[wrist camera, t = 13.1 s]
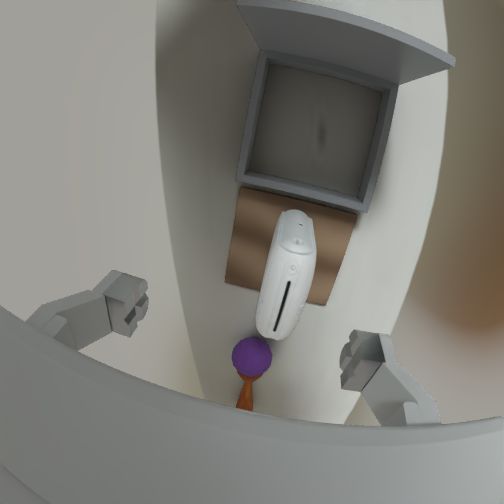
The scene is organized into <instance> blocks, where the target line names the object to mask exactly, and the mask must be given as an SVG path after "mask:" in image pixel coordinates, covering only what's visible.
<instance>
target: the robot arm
mask: <svg viewBox="0 0 504 504" xmlns="http://www.w3.org/2000/svg"><path fill="white" fill-rule="evenodd" d="M147 289H148V286H147V282H146V280H144V279H141V278H138V277H135V276H132V275H128V274H126V273H122V272H119V271H116V270H112V271H111V272H110V273H109V274H108V275H107V276H106V277H105V278H104V279H103V280H102V281H101V282H100V283H99V284H98V285H97V286H96V287H95V288H94V289H93V290H92V291H91V290H86V291H83V292H80V293H77V294H74V295H71V296H68V297H65V298H62V299H59V300H55V301H52V302H49V303H46V304H43V305H41V306H40V307H39V308H38V309H37V310H36V311H35V312H34V313H33V314H32V315H31V316H30V317H29V318H28V319H27V321H23V320H21V319H20V318H18V317H17V316H15V315H14V314H12V313H11V312H9V311H8V310H6V309H5V308H3V307H2V306H1V305H0V504H504V417H501V416H499V417H492V418H487V419H481V420H475V421H468V422H460V423H451V424H441V421H440V416H439V413H438V409H437V405H436V401H435V400H434V399H433V398H432V397H431V396H430V395H429V394H428V393H427V392H426V391H425V389H424V388H423V387H422V386H421V385H420V384H419V383H418V382H417V381H416V380H415V379H414V378H413V377H412V376H411V375H410V374H409V373H408V371H407V370H405V368H404V367H403V366H402V365H400V364H397V359H396V356H395V352H394V349H393V345H392V342H391V338H390V336H389V335H388V334H381V333H373V332H366V331H360V330H355V329H354V330H353V331H352V332H351V334H350V336H349V340H350V342H348V343H347V344H345V345H344V347H343V349H342V351H341V355H340V368H341V369H342V370H343V373H342V374H341V389H344V390H351V391H359V392H361V394H362V396H363V397H364V399H365V400H366V402H367V403H368V405H369V407H370V408H371V410H372V411H373V413H374V414H375V416H376V418H377V419H378V421H379V422H380V424H381V426H359V425H344V424H332V423H322V422H313V421H305V420H298V419H291V418H284V417H278V416H273V415H267V414H262V413H257V412H252V411H247V410H243V409H238V408H234V407H230V406H226V405H222V404H218V403H214V402H210V401H207V400H203V399H199V398H196V397H192V396H189V395H186V394H183V393H180V392H177V391H174V390H170V389H168V388H165V387H162V386H159V385H156V384H153V383H150V382H148V381H145V380H142V379H140V378H137V377H135V376H132V375H130V374H127V373H125V372H122V371H120V370H117V369H115V368H113V367H110V366H108V365H106V364H104V363H101V362H99V361H97V360H95V359H93V358H91V357H88V356H86V355H84V354H82V353H80V352H78V350H80V349H82V348H84V347H86V346H87V345H89V344H91V343H93V342H95V341H97V340H99V339H100V338H102V337H104V336H106V335H108V334H109V333H111V332H112V331H113V332H116V333H119V334H121V335H124V336H127V337H131V335H132V334H133V332H134V331H135V329H136V328H137V321H140V320H142V319H143V318H144V316H145V315H146V312H147V309H148V297H147V295H146V294H145V292H146V290H147Z"/></svg>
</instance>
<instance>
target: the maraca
mask: <svg viewBox="0 0 504 504" xmlns="http://www.w3.org/2000/svg"><path fill="white" fill-rule="evenodd" d="M232 361H233V365H234V366H235V368H236V369H237V372H238V374H239V375H240V376H241V378H242V379H243V380H244V381H245V383H244V385H243V388H242V391H241V394H240V397H239V399H238V402H237V405H236V408H238V409H243V410H247V411H252V410H253V400H252V382H253V381H255V380H256V379H258V378H260V377H261V375H262V374H263V373H264V372H265V371H267V369H268V368H269V367H270V365H271V361H272V353H271V350H270V348H269V345H268V344H267V343H266V342H265V341H263V340H261V339H258V338H245V339H243V340H241V341H240V342H239V343H238V344H237V345H236V346H235V347H234V349H233V353H232Z"/></svg>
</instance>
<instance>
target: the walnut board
mask: <svg viewBox="0 0 504 504" xmlns="http://www.w3.org/2000/svg"><path fill="white" fill-rule="evenodd" d="M293 209H295V210H300V211H302V212H304V213H305V214H306V215H307V216H308V217H309V218H311V219H312V221H313V229H314V236H315V243H316V251H317V253H316V265H315V271H314V276H313V280H312V284H311V287H310V290H309V293H308V297H307V300H306V301H308V302H313V303H317V304H322V305H326V303H327V301H328V298H329V296H330V293H331V290H332V288H333V285H334V283H335V280H336V277H337V274H338V272H339V269H340V266H341V263H342V261H343V258H344V255H345V252H346V249H347V246H348V243H349V240H350V237H351V234H352V231H353V228H354V225H355V222H356V219H357V214H355V213H351V212H347V211H344V210H340V209H336V208H332V207H328V206H325V205H321V204H317V203H313V202H309V201H305V200H301V199H296V198H292V197H288V196H284V195H279V194H275V193H270V192H266V191H261V190H257V189H252V188H247V187H243V186H241V187H240V192H239V198H238V203H237V209H236V215H235V221H234V227H233V233H232V239H231V245H230V251H229V257H228V263H227V270H226V276H225V282H227V283H231V284H235V285H239V286H243V287H247V288H251V289H255V290H261V286H262V281H263V277H264V272H265V267H266V263H267V258H268V254H269V250H270V247H271V243H272V239H273V235H274V232H275V228H276V225H277V222H278V219H279V217H280V215H281V213H282V212H283V211H284V212H286V211H288V210H293Z"/></svg>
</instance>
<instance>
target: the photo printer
mask: <svg viewBox="0 0 504 504" xmlns="http://www.w3.org/2000/svg"><path fill="white" fill-rule="evenodd" d="M316 253H317V251H316V243H315V236H314V229H313V221H312V219H311V218H309V217H308V216H307V215H306V214H305V213H304V212H302V211H300V210H295V209H293V210H288V211H286V212H284V211H283V212H282V213H281V215H280V217H279V219H278V222H277V225H276V228H275V232H274V235H273V239H272V243H271V247H270V250H269V254H268V258H267V263H266V267H265V272H264V277H263V281H262V286H261V290H260V295H259V299H258V304H257V309H256V316H255V321H256V328H257V330H258V331H259V333H260V334H261V335H262V336H264V337H265V338H272V339H275V340H282V339H284V338H286V337H287V336H288V335H289V334H290V333H291V332H292V330H293V329H294V328H295V326H296V324H297V322H298V320H299V318H300V315H301V313H302V310H303V308H304V305H305V302H306V300H307V297H308V293H309V290H310V287H311V284H312V280H313V276H314V271H315V265H316Z"/></svg>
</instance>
